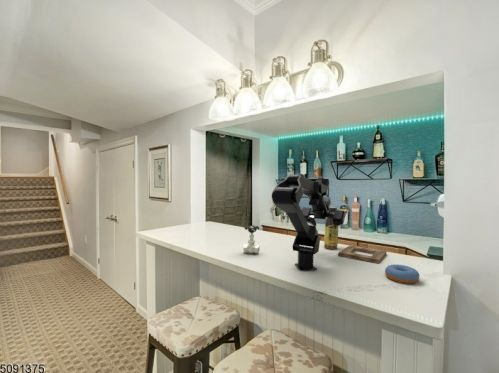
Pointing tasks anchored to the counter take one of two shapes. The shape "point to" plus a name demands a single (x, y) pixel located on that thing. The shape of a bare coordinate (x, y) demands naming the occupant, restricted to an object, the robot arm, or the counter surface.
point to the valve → (251, 241)
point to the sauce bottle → (330, 232)
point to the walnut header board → (375, 258)
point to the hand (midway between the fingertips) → (325, 226)
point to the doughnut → (402, 274)
